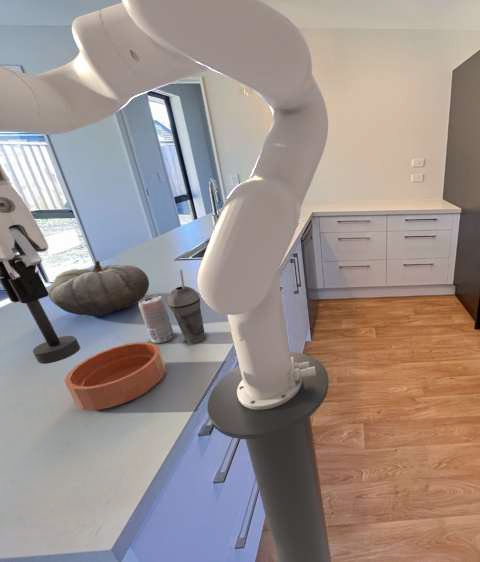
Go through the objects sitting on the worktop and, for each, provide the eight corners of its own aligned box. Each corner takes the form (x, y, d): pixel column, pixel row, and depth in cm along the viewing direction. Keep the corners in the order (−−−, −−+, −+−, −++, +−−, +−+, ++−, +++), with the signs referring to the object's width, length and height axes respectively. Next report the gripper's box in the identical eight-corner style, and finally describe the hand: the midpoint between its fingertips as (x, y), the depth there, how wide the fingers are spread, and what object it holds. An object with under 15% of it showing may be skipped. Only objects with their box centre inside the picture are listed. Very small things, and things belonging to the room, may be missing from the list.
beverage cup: (176, 339, 83) (154, 272, 75) (204, 329, 87) (186, 264, 80) (185, 350, 78) (162, 279, 70) (214, 338, 83) (196, 270, 75)
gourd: (96, 324, 86) (71, 266, 82) (38, 329, 93) (12, 275, 88) (170, 295, 110) (154, 249, 105) (120, 301, 116) (102, 258, 112)
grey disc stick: (87, 343, 54) (47, 259, 48) (68, 360, 49) (21, 269, 43) (52, 348, 53) (6, 262, 47) (29, 366, 48) (-25, 274, 42)
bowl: (176, 358, 75) (169, 337, 73) (149, 403, 61) (140, 380, 58) (103, 369, 71) (94, 348, 69) (57, 420, 57) (43, 396, 55)
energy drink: (169, 331, 87) (157, 293, 82) (178, 336, 84) (165, 298, 79) (148, 339, 83) (134, 300, 78) (156, 346, 80) (142, 306, 75)
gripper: (40, 172, 41) (93, 293, 48) (-30, 174, 45) (28, 286, 52) (-41, 175, 35) (34, 315, 42) (-115, 178, 39) (-35, 305, 46)
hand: (30, 298), depth 47 cm, fingers closed on grey disc stick, 1 cm apart
